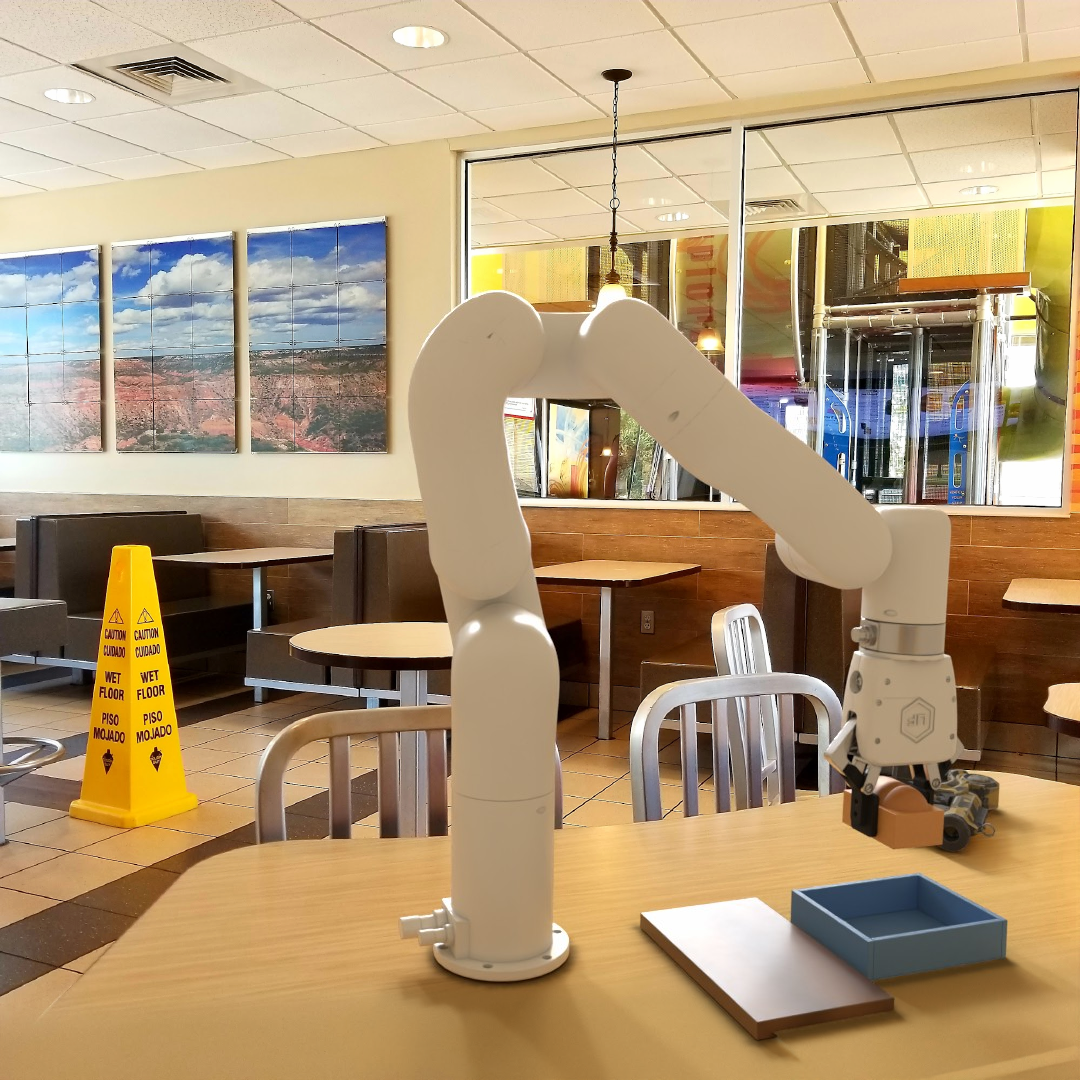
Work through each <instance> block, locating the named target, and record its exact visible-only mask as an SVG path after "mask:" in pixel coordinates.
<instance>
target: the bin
mask: <svg viewBox="0 0 1080 1080" xmlns="http://www.w3.org/2000/svg"><path fill="white" fill-rule="evenodd" d="M790 894H791V895H790V896H791V897H790V922H791V923H792V924H794V925H795V926H797V927H798V928H799V929H801V930H802V931H803V932H805V933H806V934H808V935H809V936H810V937H812V938H813V939H814V940H816V941H817V942H819V943H820V944H821V945H823V946H824V947H825V948H827V949H828V950H830V951H831V952H832V953H834V954H835V955H836V956H838V957H839V958H841V959H842V960H843V961H845V962H846V963H847V964H849V965H850V966H852V967H853V968H854V969H856V970H857V971H858V972H860V973H861V974H863V975H864V976H865V977H867V978H868V979H869V980H871V981H872V982H873V981H877V980H883V979H889V978H890V979H891V978H895V977H901V976H906V975H907V976H908V975H913V974H919V973H924V972H930V971H935V970H943V969H947V968H954V967H959V966H964V965H971V964H976V963H982V962H989V961H994V960H999V959H1005V958H1006V957H1007V942H1008V941H1007V939H1008V919H1006V918H1004V917H1003V916H1001V915H999V914H998V913H996V912H994V911H992V910H990V909H987V908H986V907H984V906H983V905H980V904H978V903H977V902H975V901H973V900H971V899H969V898H968V897H965V896H964V895H962V894H960V893H958V892H957V891H954V890H953V889H951V888H949V887H947V886H945V885H944V884H941V883H940V882H938V881H936V880H934V879H933V878H931V877H929V876H926V875H925V874H923V873H921V872H913V873H907V874H899V875H891V876H883V877H876V878H868V879H862V880H854V881H848V882H840V883H833V884H832V883H831V884H825V885H817V886H810V887H803V888H802V887H801V888H797V889H791V893H790Z"/></svg>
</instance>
